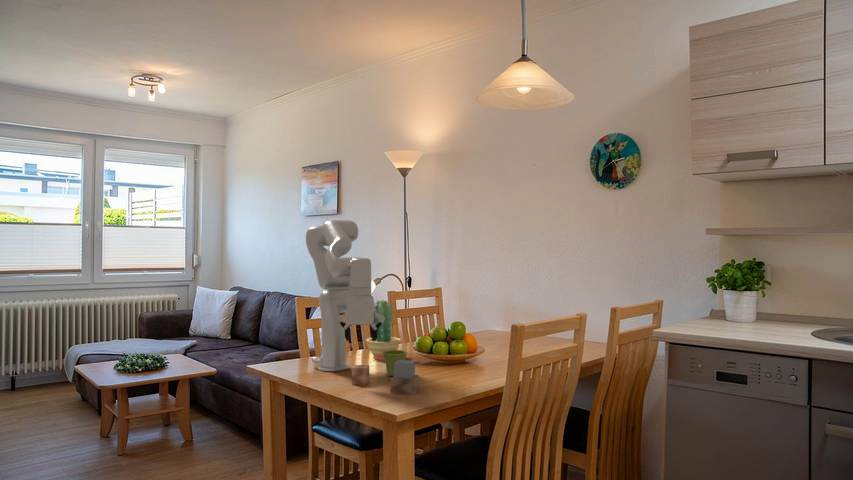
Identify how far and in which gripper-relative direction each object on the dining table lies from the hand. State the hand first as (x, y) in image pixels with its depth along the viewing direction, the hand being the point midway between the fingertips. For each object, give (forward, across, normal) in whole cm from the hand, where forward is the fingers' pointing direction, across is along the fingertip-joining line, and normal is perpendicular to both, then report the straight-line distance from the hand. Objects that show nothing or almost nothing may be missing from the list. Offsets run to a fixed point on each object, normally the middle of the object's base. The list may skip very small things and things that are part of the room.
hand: (361, 340), depth 209 cm
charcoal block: (+11, +17, -7) cm, 22 cm away
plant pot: (+15, +8, +16) cm, 24 cm away
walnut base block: (+16, +18, -7) cm, 25 cm away
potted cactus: (+15, -4, +48) cm, 50 cm away
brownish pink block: (+15, 0, +1) cm, 15 cm away
